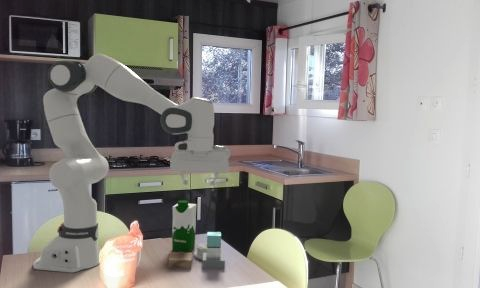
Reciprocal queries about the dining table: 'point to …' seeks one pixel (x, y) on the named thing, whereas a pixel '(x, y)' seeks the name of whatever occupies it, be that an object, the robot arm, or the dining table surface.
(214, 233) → the block
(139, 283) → the dining table surface
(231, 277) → the dining table surface
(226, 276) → the dining table surface
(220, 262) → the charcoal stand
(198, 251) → the mechanical component
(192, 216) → the milk carton
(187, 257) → the walnut stand
